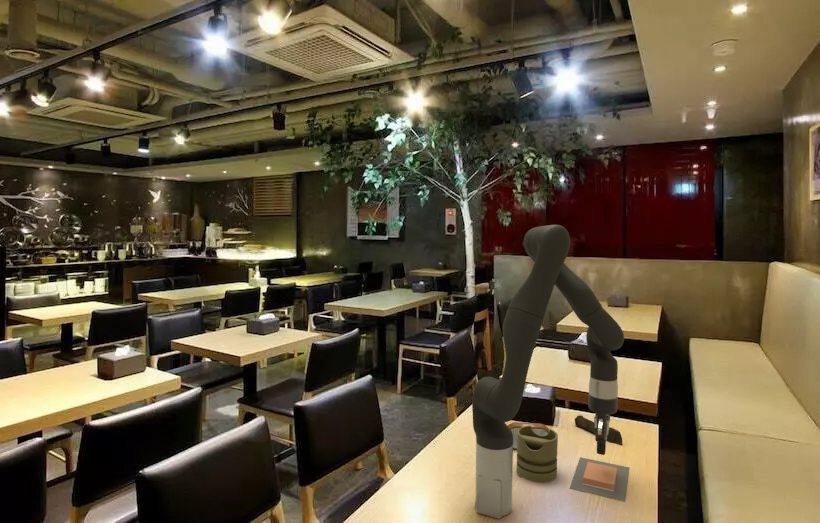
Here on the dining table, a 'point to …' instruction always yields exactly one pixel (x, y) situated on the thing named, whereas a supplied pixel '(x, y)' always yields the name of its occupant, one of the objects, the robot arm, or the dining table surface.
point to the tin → (536, 427)
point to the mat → (617, 494)
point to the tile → (600, 476)
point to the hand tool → (587, 424)
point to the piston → (536, 455)
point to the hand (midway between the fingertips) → (601, 453)
